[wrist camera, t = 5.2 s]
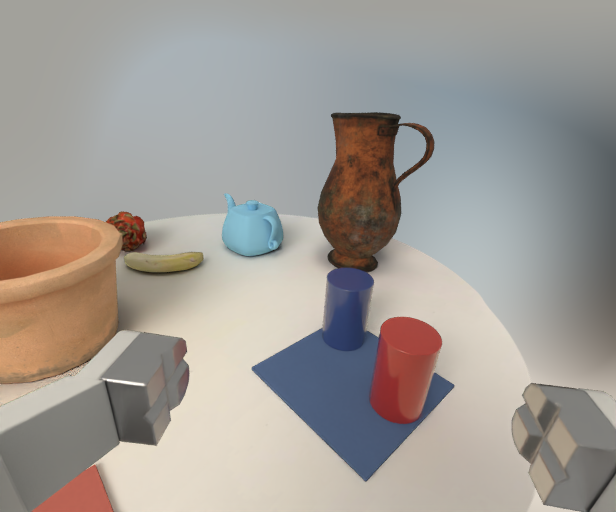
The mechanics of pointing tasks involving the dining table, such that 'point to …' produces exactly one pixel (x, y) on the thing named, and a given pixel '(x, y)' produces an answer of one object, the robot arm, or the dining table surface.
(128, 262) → the fruit
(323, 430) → the blue mat
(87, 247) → the pottery
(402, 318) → the red canister
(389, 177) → the pitcher
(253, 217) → the teapot
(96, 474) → the red mat
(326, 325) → the blue canister
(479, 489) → the dining table surface
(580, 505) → the robot arm
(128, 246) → the dragon fruit
